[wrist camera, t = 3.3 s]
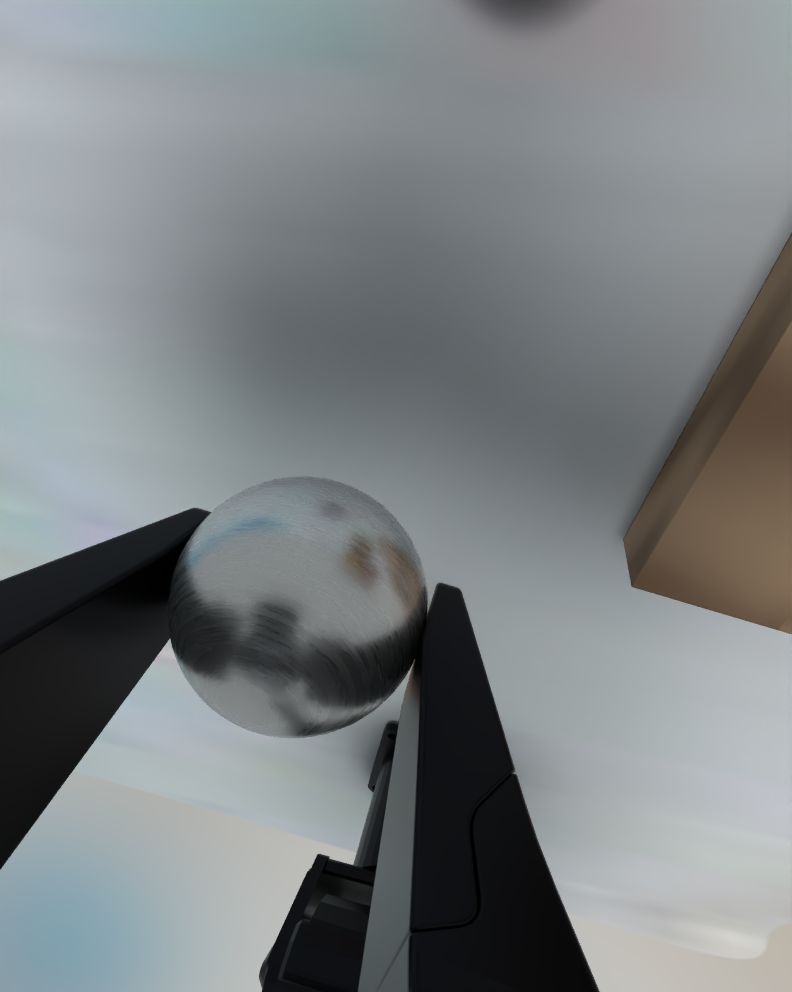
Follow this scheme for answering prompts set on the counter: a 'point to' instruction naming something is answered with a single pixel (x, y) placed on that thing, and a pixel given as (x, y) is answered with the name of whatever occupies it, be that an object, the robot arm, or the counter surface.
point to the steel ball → (297, 607)
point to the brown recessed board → (730, 480)
